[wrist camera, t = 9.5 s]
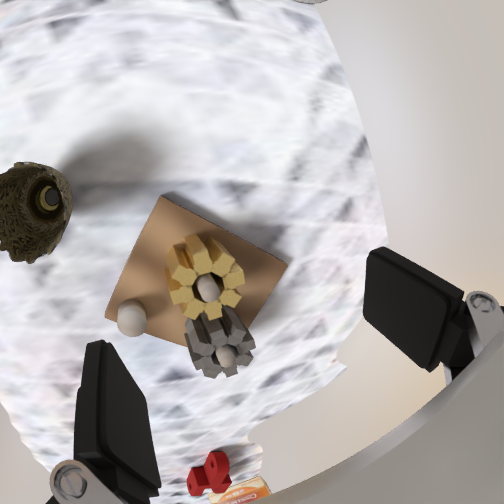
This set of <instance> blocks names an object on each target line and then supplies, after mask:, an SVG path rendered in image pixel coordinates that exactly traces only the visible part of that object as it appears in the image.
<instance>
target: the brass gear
mask: <svg viewBox="0 0 504 504" xmlns="http://www.w3.org/2000/svg"><path fill="white" fill-rule="evenodd" d="M184 241H185V245H186V246H184V248H185V250H183V249H181V250H180V249H178V248H177V247H175V246H172V247H171V249H170V251H169V252H168V254H167V256H166V258H167V262H168V266H169V268H166V269H164V270H165V275H166V279H167V284H168V288H169V292H170V295H171V299H172V302H173V305H175V304H180V307H181V311H182V314H183V315H184V316H187V317H189V318H191V319H194V320H196V318H197V316H198V315H199V313H202V312H203V310H204V311H205V313H206V315H207V317H208V319H209V321H210V320H213V319H216V318H219V317H222V312H221V308H222V305H221V304H223V305H225V306H226V304H227V305H229V306H231V307H233V308H235V306H236V305H237V303H238V302H239V300H240V299H241V297H242V296H241V295H240V293H239V292H238V290H237V289H236V286H239V285H242V284H245V279H244V273H243V270H242V269H241V268H240V266H239V265H238V264H237V263H236V262H235V258H234V257H233V256H232V255H231V254H230V253H229V252H228V251H227V249H226V248H225V247H224V246H223V245H222V244H221V242H219V241H218V240H216V239H214V238H213V237H211V236H209V237H208V239H207V240H206V242H205V243H202V241H201V240H200V238H199V237H198V235H197V234H194V235H190V236H187V237H184ZM205 273H210V274H211V276H212V278H213V279H214V281H215V283H216V285H217V286H218V288H219V290H220V296H219V298H218V299H217V300H216V301H214V302H206V301H204V300H203V299H202V297H201V294H200V292H199V290H198V288H197V285H196V283H195V280H196V278H197V277H198V275H202V274H205Z"/></svg>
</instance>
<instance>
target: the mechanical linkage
mask: <svg viewBox="0 0 504 504" xmlns="http://www.w3.org/2000/svg"><path fill="white" fill-rule="evenodd" d="M228 472H229V460H228V457H227V455H226V454H225V453H224V452H223V451H222V452H210V453H209V455H208V457H207V459H206V461H205V464H204V466H203V467H193V468H191V471H190V473H189V475H188V478H187V487H188V491H189V493H190V495H191V496H201V495H202V493H203V491H204V490H205V489H207V488H211V489H212V491H213V492H214V493H215V494H219V493H225V492H226V490H227V489H228V487H229V486H230V485H231V483H232V481H231V479H230V477H229V475H228Z"/></svg>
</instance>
